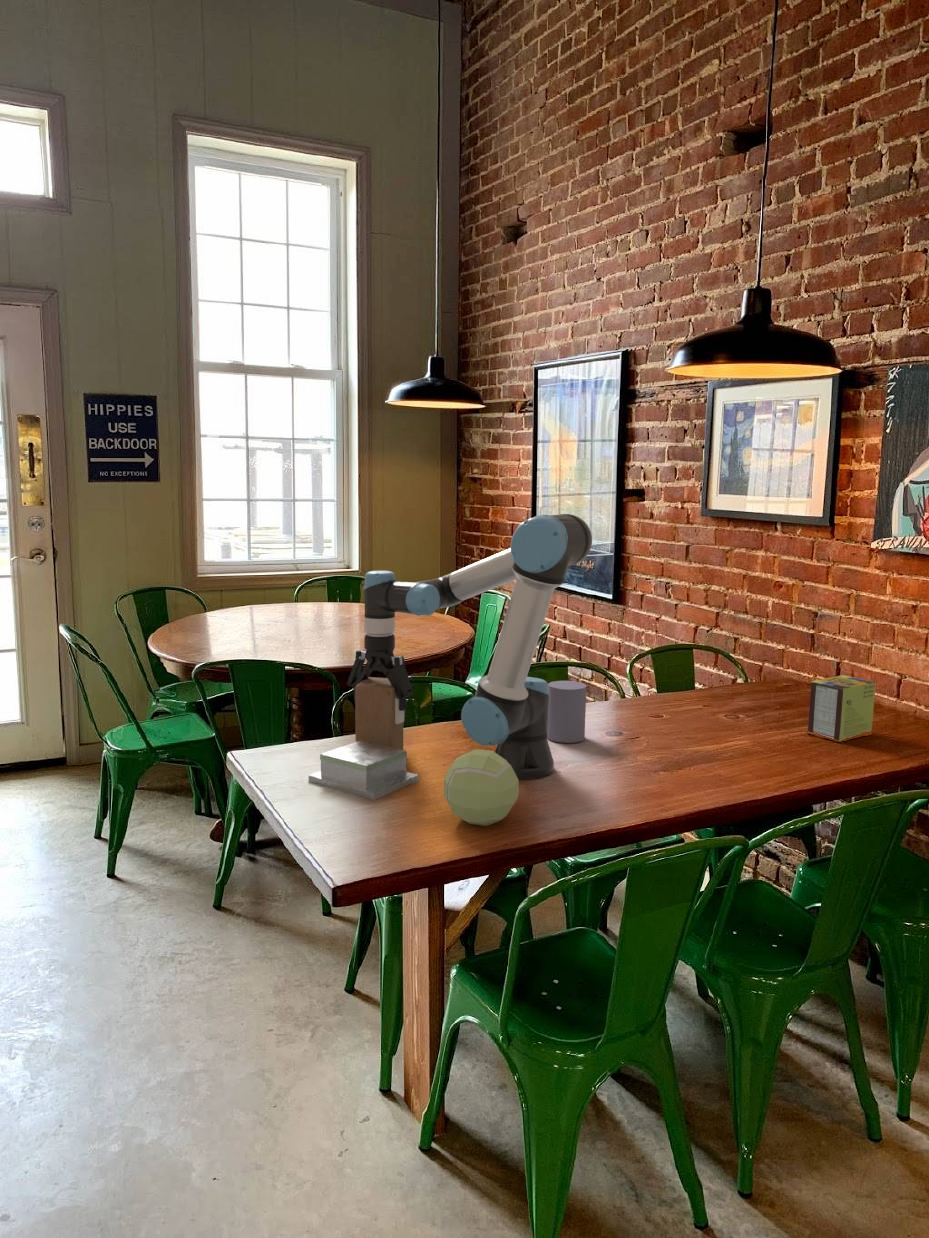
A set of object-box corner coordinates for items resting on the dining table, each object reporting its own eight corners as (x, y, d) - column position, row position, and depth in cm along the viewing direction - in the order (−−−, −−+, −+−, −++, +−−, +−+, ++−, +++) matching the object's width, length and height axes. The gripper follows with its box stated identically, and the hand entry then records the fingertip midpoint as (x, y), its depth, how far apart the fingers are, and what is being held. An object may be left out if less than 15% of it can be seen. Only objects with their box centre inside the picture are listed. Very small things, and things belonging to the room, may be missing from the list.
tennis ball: (456, 805, 204) (457, 739, 201) (523, 813, 200) (525, 745, 197) (435, 830, 190) (435, 759, 187) (506, 839, 185) (508, 767, 183)
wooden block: (393, 766, 229) (393, 687, 226) (354, 763, 231) (353, 684, 228) (404, 754, 239) (404, 678, 236) (366, 751, 241) (366, 675, 238)
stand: (418, 780, 219) (418, 752, 218) (373, 800, 206) (373, 769, 205) (355, 764, 231) (354, 736, 229) (308, 781, 218) (308, 752, 217)
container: (541, 741, 252) (543, 687, 250) (552, 731, 262) (554, 679, 259) (578, 745, 249) (580, 691, 246) (588, 735, 258) (590, 682, 256)
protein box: (872, 735, 262) (876, 681, 260) (839, 743, 254) (843, 688, 251) (839, 726, 271) (843, 674, 268) (805, 734, 262) (810, 680, 260)
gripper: (428, 637, 226) (427, 723, 229) (353, 626, 240) (353, 707, 243) (408, 641, 220) (408, 730, 223) (332, 630, 234) (333, 713, 237)
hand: (379, 718), depth 233 cm, fingers closed on wooden block, 12 cm apart
